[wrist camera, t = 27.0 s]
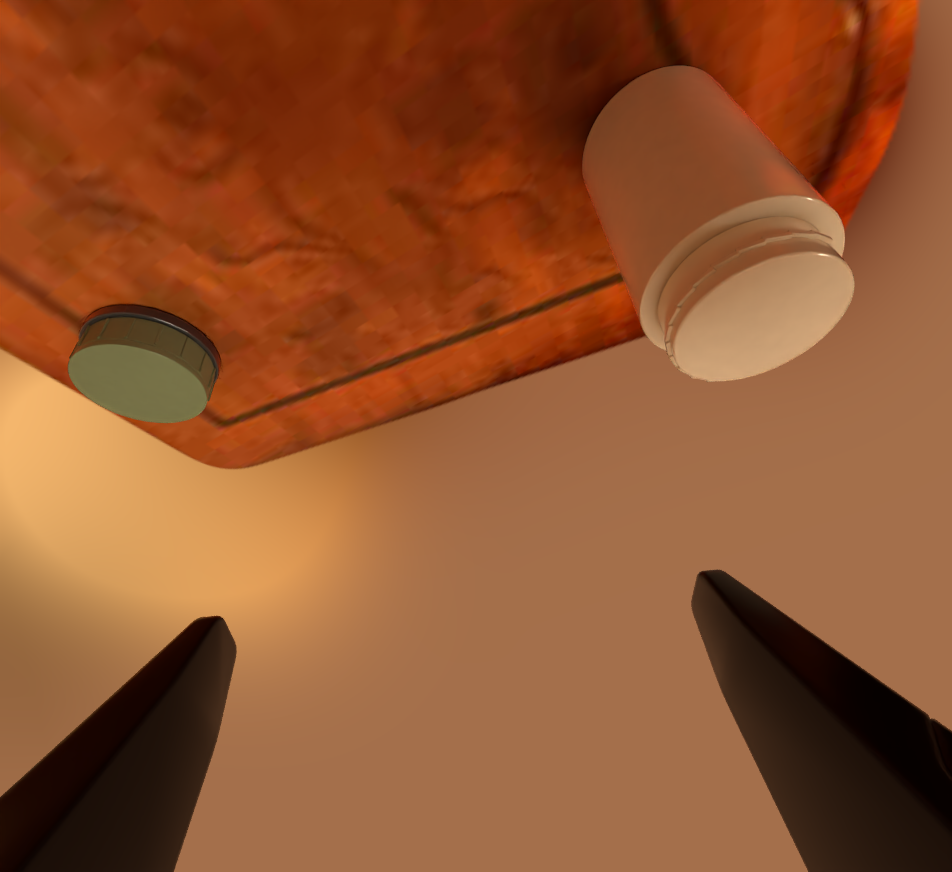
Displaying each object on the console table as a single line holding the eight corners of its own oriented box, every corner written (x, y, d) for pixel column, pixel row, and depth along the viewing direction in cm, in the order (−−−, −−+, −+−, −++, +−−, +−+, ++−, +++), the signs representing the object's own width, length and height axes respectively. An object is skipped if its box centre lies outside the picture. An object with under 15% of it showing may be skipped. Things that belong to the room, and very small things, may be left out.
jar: (605, 59, 17) (711, 229, 11) (758, 69, 17) (935, 236, 11) (567, 215, 21) (628, 393, 15) (689, 218, 22) (791, 391, 16)
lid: (212, 406, 29) (205, 432, 28) (90, 383, 26) (76, 410, 25) (219, 336, 24) (210, 363, 23) (72, 300, 22) (55, 328, 21)
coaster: (53, 303, 23) (48, 312, 22) (195, 304, 23) (191, 313, 23) (121, 390, 28) (118, 398, 27) (236, 389, 28) (234, 397, 28)
